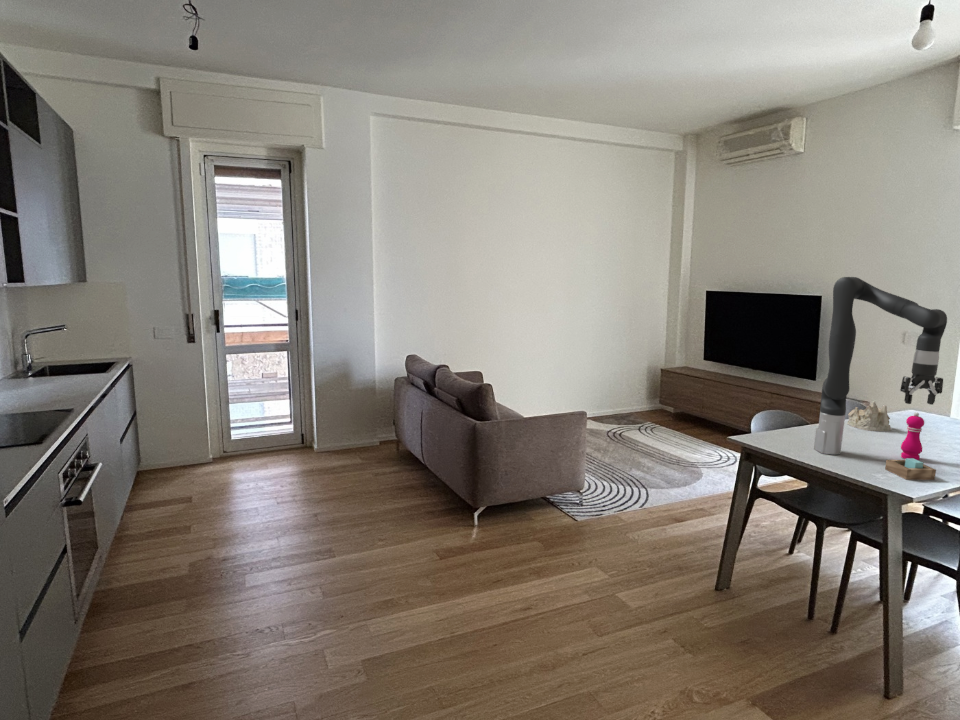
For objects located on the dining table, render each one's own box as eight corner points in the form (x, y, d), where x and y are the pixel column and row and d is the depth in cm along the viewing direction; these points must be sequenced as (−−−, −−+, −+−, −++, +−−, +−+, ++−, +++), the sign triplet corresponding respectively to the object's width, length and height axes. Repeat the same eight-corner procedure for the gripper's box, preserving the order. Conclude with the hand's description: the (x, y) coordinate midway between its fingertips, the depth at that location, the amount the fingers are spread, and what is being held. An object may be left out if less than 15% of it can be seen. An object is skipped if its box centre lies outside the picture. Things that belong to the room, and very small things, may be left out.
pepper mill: (895, 455, 243) (901, 410, 239) (911, 455, 243) (917, 410, 240) (908, 461, 236) (915, 414, 232) (925, 461, 236) (932, 414, 233)
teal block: (921, 475, 217) (923, 462, 216) (913, 475, 217) (915, 462, 216) (911, 470, 222) (913, 458, 221) (904, 470, 222) (905, 458, 221)
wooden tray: (906, 479, 215) (907, 469, 214) (885, 469, 226) (886, 459, 225) (934, 479, 215) (936, 469, 215) (912, 469, 226) (913, 459, 225)
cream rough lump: (896, 431, 279) (898, 401, 277) (863, 432, 278) (865, 402, 277) (873, 424, 294) (875, 396, 293) (842, 425, 294) (843, 397, 292)
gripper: (914, 363, 211) (908, 406, 213) (952, 364, 211) (945, 406, 213) (899, 360, 218) (893, 401, 221) (936, 360, 218) (929, 401, 221)
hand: (919, 403), depth 217 cm, fingers open, 8 cm apart
